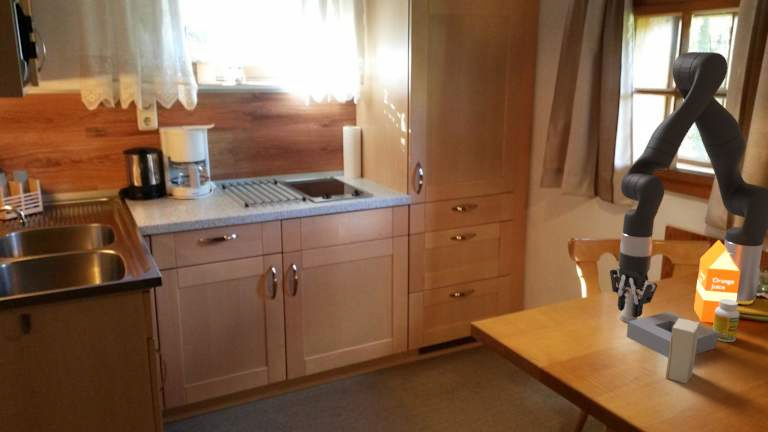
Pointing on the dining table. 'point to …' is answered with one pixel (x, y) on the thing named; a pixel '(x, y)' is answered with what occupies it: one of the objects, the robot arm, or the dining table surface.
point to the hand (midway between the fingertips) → (629, 312)
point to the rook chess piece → (628, 308)
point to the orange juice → (715, 281)
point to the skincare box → (682, 350)
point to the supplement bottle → (726, 320)
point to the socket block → (665, 333)
